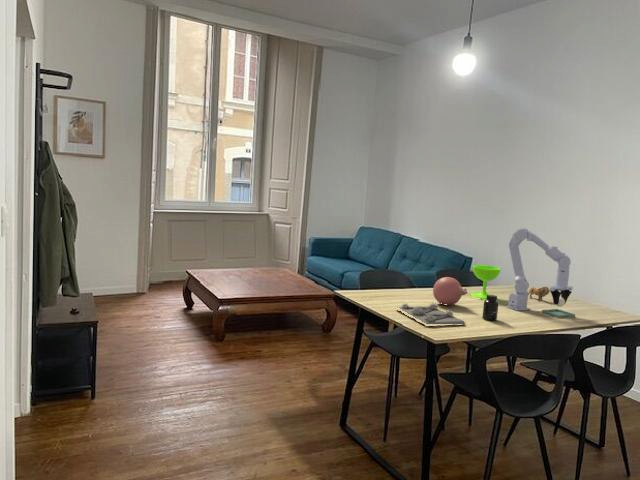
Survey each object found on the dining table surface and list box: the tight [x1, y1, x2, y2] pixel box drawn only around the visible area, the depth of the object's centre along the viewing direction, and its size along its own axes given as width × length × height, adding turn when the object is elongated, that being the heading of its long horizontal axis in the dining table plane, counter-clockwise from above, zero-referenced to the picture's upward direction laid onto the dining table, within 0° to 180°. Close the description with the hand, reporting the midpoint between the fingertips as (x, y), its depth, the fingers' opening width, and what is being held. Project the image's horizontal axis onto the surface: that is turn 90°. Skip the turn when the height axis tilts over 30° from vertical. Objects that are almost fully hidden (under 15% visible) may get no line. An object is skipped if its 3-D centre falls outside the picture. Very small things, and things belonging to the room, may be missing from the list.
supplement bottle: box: [482, 294, 499, 322], centre depth 245 cm, size 7×7×12 cm
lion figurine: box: [528, 286, 551, 302], centre depth 298 cm, size 15×5×9 cm, turn 34°
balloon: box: [432, 276, 468, 306], centre depth 269 cm, size 15×20×15 cm
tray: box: [541, 308, 576, 319], centre depth 264 cm, size 11×11×1 cm
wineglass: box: [470, 264, 502, 301], centre depth 296 cm, size 16×16×18 cm
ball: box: [556, 296, 566, 308], centre depth 263 cm, size 5×5×5 cm
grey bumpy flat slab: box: [398, 302, 466, 325], centre depth 242 cm, size 30×22×7 cm
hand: (559, 303), depth 263 cm, fingers closed on ball, 5 cm apart
